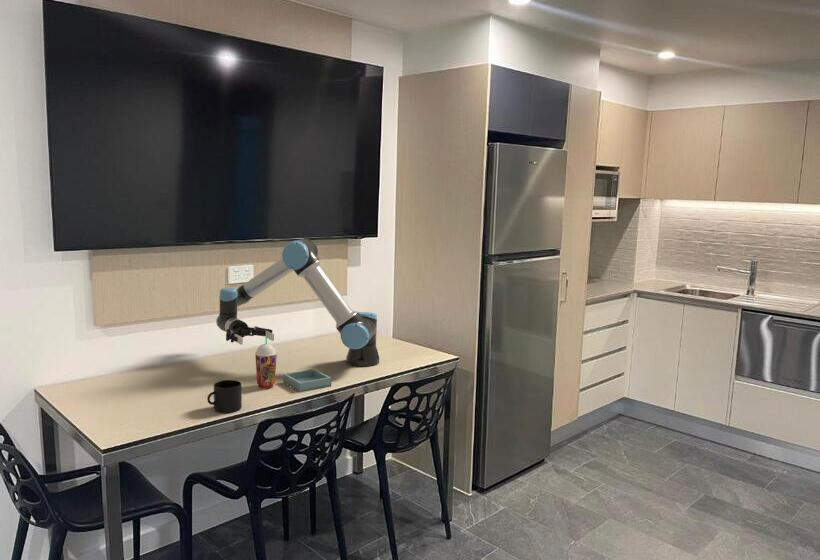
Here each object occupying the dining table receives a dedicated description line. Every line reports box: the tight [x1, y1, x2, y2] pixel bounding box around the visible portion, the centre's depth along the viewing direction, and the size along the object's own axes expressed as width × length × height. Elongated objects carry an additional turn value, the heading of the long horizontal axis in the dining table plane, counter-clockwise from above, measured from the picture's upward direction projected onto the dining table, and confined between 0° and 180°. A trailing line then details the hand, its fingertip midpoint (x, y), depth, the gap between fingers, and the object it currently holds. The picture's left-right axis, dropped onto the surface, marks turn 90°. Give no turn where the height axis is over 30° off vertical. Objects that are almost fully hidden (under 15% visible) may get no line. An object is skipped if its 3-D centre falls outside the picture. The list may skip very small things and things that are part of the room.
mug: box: [206, 379, 243, 414], centre depth 219 cm, size 9×12×9 cm
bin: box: [282, 368, 332, 393], centre depth 250 cm, size 14×14×4 cm
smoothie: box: [254, 336, 278, 389], centre depth 244 cm, size 8×8×20 cm
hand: (257, 339), depth 253 cm, fingers open, 13 cm apart
